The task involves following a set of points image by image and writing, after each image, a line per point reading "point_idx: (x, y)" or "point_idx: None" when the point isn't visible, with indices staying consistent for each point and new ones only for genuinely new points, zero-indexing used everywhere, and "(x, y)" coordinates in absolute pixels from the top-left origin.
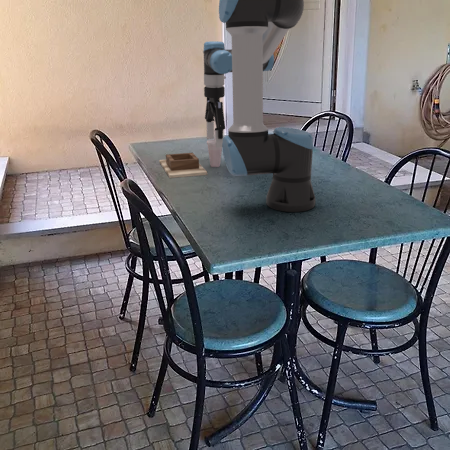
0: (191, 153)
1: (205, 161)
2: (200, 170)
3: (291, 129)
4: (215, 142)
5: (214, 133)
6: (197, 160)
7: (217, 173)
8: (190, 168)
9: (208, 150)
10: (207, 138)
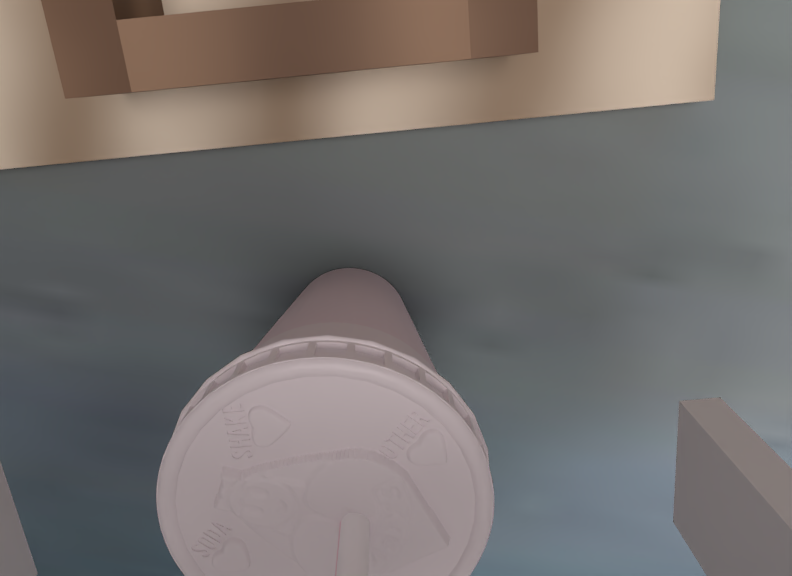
0: (479, 22)
1: (573, 239)
2: (22, 98)
3: None
4: (233, 507)
5: None
6: (67, 72)
7: (23, 295)
8: None
9: (329, 316)
10: (683, 412)
